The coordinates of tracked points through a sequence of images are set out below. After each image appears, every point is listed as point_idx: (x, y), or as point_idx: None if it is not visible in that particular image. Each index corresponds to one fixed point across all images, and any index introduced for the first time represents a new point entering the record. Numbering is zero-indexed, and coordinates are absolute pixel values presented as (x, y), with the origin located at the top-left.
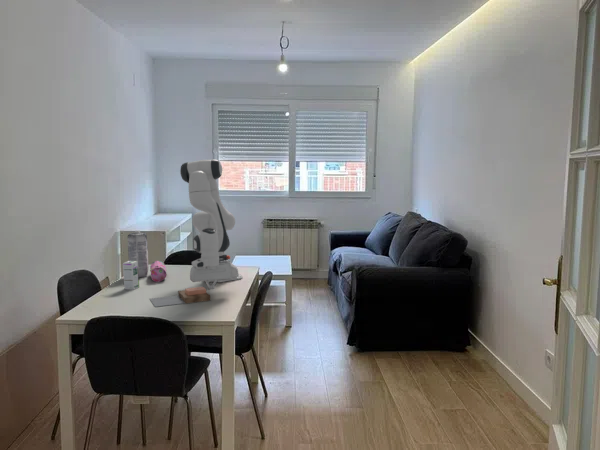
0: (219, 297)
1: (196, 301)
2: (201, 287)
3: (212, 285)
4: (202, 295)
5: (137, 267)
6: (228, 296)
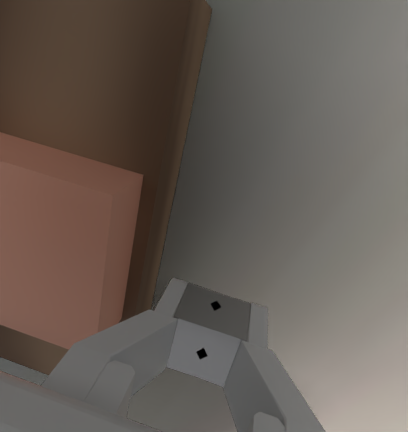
0: None
1: None
2: (66, 231)
3: (217, 375)
4: (54, 356)
5: None
6: (356, 383)
